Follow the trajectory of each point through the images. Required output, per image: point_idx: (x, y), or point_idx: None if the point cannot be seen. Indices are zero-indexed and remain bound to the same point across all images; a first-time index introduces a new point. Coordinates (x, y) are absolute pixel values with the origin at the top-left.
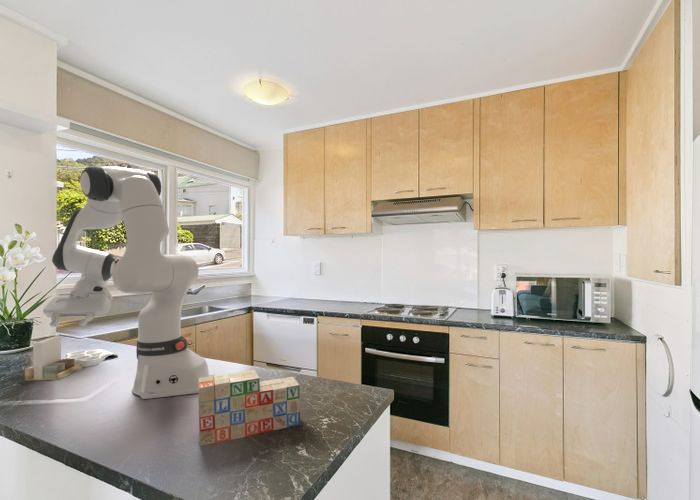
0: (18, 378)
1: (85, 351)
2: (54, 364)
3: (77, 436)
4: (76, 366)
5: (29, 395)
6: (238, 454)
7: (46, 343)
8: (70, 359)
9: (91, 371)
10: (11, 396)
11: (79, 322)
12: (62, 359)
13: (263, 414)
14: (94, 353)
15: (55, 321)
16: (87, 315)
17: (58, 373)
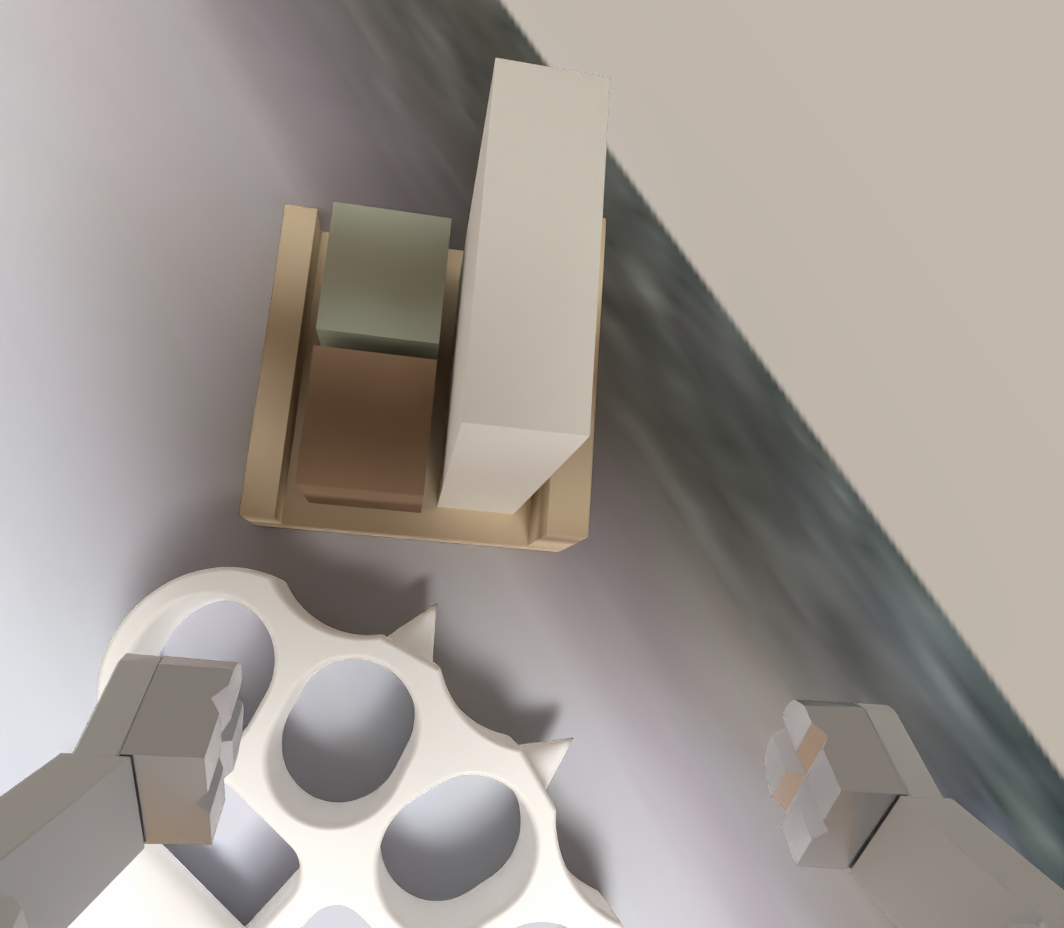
0: (726, 436)
1: None
2: (399, 297)
3: None
4: (252, 430)
5: (370, 15)
6: None
7: (485, 148)
8: (324, 454)
9: (145, 495)
10: (490, 33)
11: (231, 683)
12: (421, 476)
13: None
14: (266, 922)
15: (831, 758)
16: (14, 908)
17: (311, 228)
